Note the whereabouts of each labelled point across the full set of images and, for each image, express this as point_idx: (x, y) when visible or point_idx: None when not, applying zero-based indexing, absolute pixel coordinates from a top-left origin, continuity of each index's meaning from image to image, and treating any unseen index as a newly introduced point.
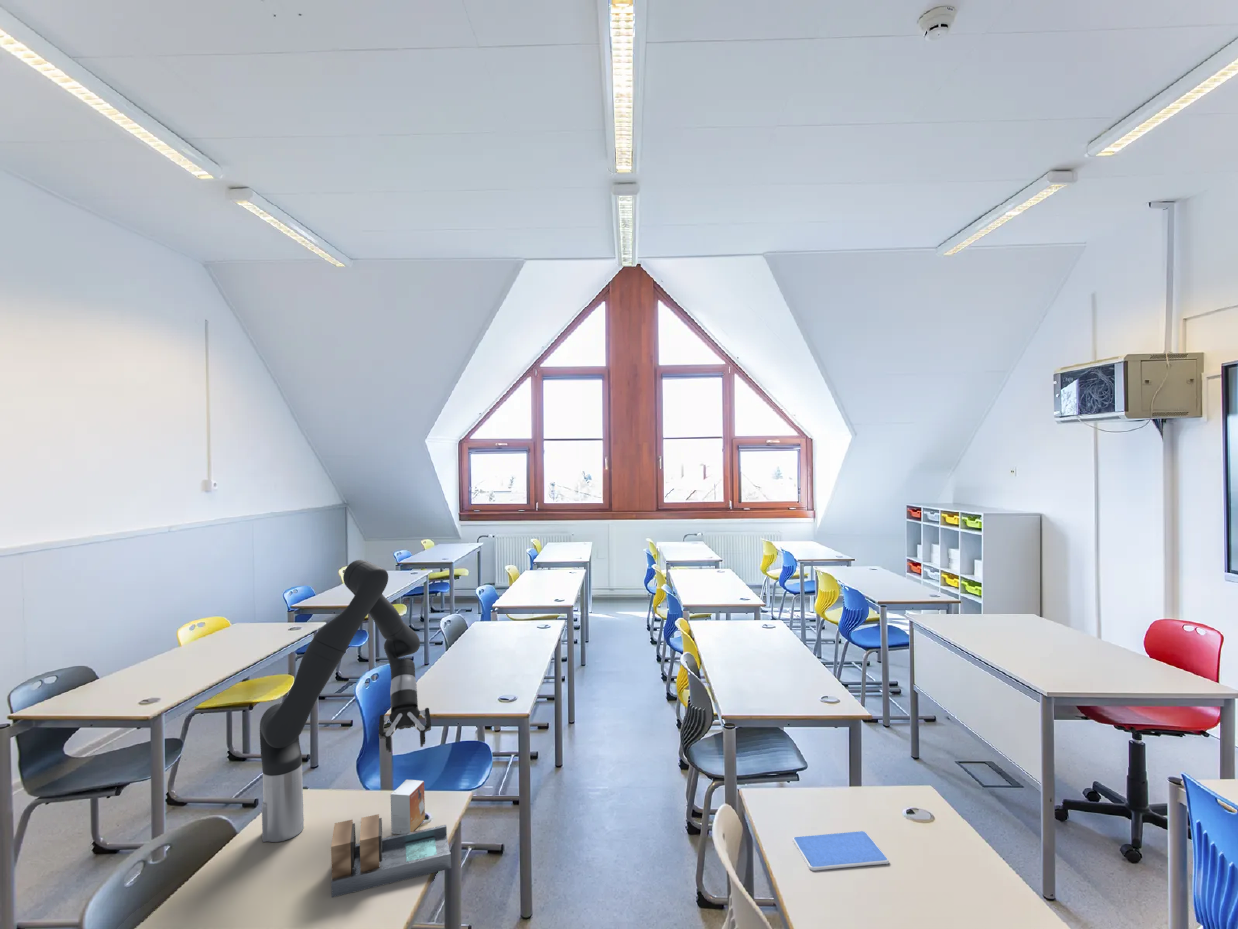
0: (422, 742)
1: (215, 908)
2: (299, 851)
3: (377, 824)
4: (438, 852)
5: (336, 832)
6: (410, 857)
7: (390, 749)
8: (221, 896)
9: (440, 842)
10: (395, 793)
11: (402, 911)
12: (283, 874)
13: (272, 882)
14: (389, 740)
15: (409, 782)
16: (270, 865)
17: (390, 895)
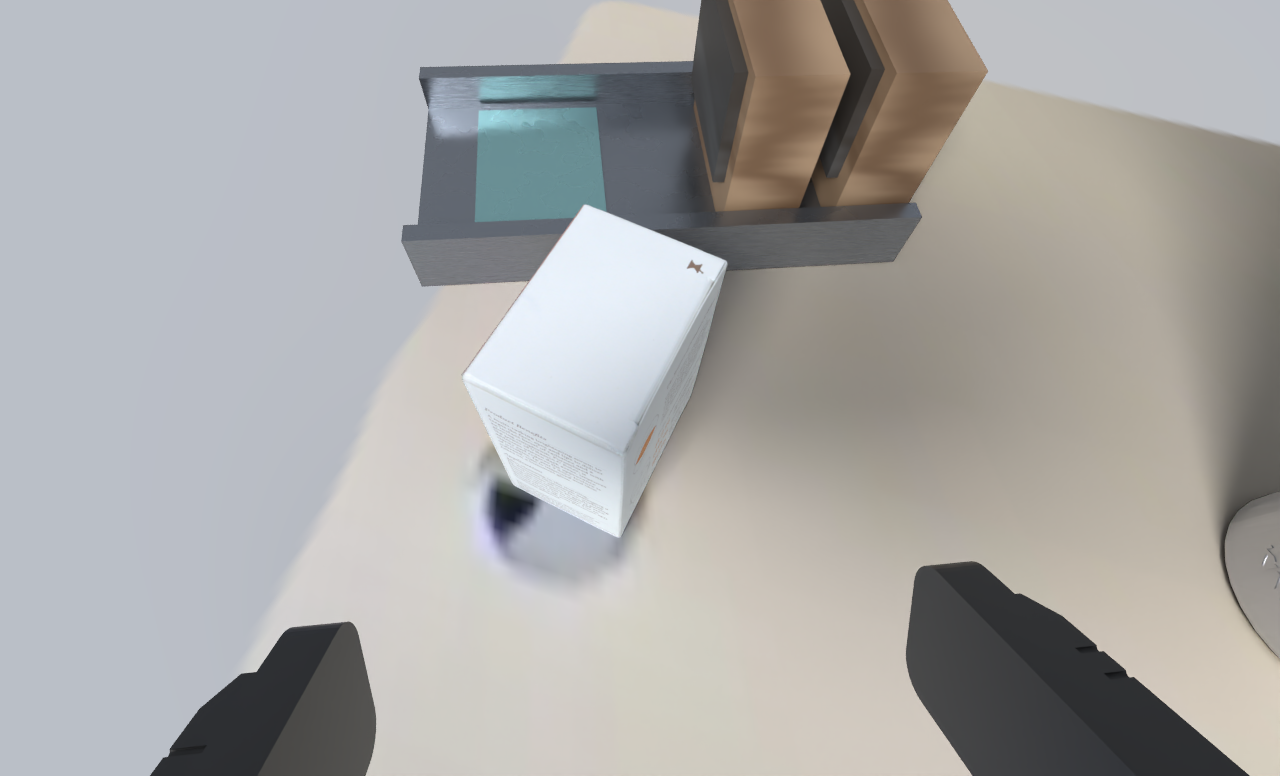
0: (291, 637)
1: (1210, 160)
2: (1113, 387)
3: (741, 8)
4: (469, 153)
5: (937, 8)
6: (583, 150)
7: (931, 565)
8: (1241, 206)
9: (452, 208)
10: (690, 255)
11: (602, 16)
12: (1083, 255)
13: (1097, 225)
14: (1091, 685)
15: (590, 383)
16: (1184, 324)
17: None
